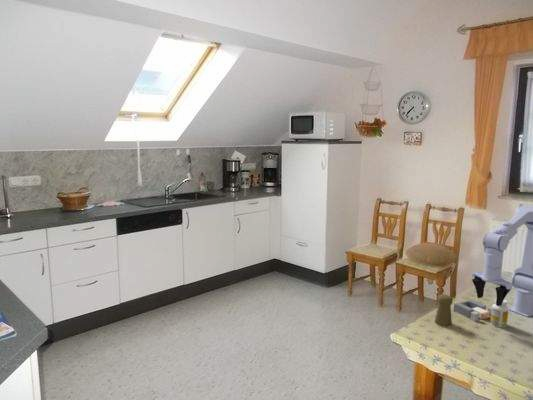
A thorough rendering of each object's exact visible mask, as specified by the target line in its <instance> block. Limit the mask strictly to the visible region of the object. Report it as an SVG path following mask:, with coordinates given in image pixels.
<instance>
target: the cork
mask: <svg viewBox="0 0 533 400" xmlns="http://www.w3.org/2000/svg"><path fill="white" fill-rule="evenodd" d="M437 302H438V305H437V310H436V314H435V317H434V323H435V324H436V326H440V327H444V328H447V327H448V328H449V327H452V325H453V324H452V309H451V307H452V306H451V305H452V304H453V303H454V302H453V298H452V296H451V295H449V294H443V293H442V294H440V295H438V297H437Z"/></svg>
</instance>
